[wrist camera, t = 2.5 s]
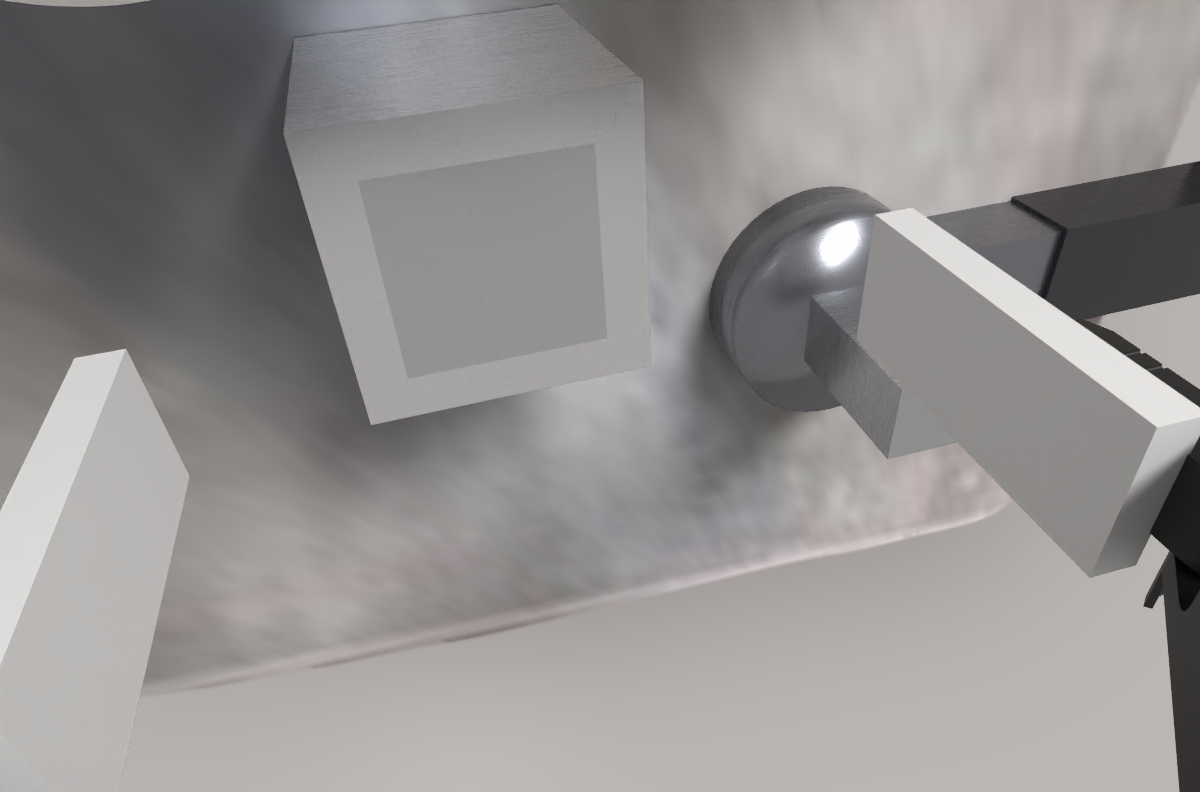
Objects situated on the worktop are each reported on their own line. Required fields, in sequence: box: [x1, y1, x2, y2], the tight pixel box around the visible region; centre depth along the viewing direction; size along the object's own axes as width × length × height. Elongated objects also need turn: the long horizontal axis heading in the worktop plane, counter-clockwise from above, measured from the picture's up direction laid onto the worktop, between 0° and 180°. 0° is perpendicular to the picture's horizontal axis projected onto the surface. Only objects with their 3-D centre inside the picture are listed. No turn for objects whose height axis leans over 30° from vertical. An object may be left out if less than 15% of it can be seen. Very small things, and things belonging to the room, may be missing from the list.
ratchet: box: [710, 161, 1200, 459], centre depth 26 cm, size 19×7×8 cm, turn 93°
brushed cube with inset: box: [283, 5, 651, 425], centre depth 19 cm, size 6×6×7 cm
